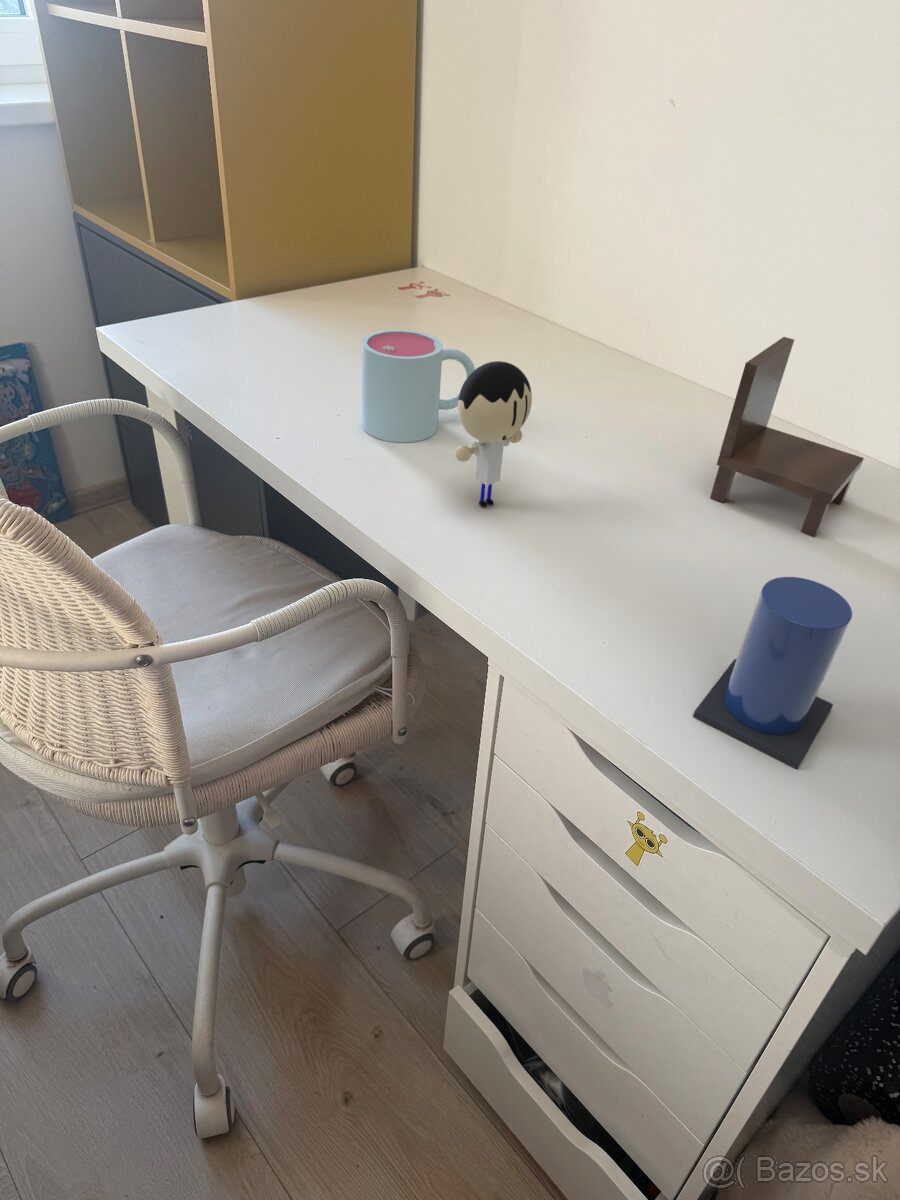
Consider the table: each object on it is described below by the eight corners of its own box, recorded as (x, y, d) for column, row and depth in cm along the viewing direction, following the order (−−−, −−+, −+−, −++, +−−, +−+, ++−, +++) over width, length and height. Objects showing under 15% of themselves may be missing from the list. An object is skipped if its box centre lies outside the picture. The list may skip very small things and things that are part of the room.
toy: (475, 530, 82) (489, 385, 73) (432, 502, 85) (440, 361, 76) (535, 504, 86) (555, 365, 77) (492, 479, 90) (506, 344, 81)
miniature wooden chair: (847, 499, 92) (900, 367, 83) (816, 539, 85) (871, 398, 76) (744, 464, 97) (783, 336, 88) (706, 498, 90) (745, 362, 81)
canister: (767, 672, 66) (807, 569, 60) (822, 723, 62) (872, 617, 56) (707, 690, 64) (743, 585, 58) (760, 744, 60) (805, 637, 54)
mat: (830, 709, 64) (833, 704, 64) (797, 769, 59) (799, 763, 58) (732, 664, 68) (734, 658, 67) (692, 716, 62) (694, 710, 62)
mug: (369, 444, 95) (370, 360, 89) (355, 411, 102) (355, 330, 96) (483, 437, 98) (491, 355, 93) (461, 405, 106) (467, 327, 100)
